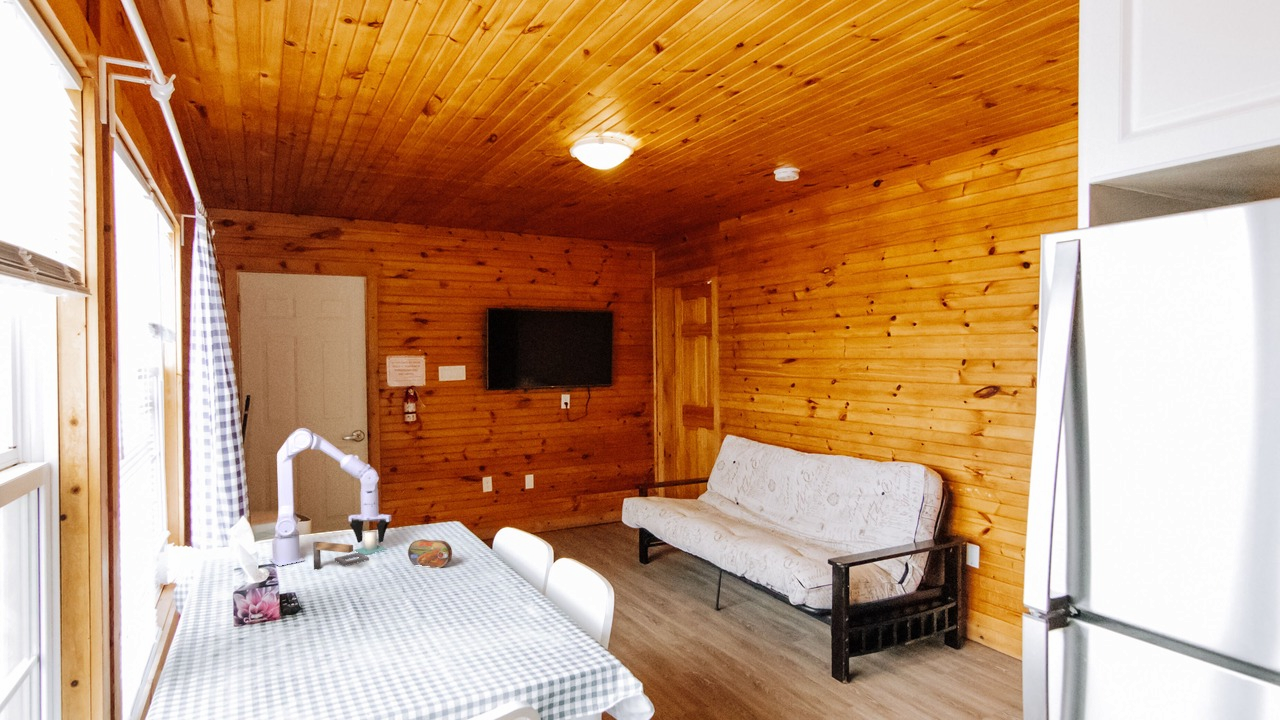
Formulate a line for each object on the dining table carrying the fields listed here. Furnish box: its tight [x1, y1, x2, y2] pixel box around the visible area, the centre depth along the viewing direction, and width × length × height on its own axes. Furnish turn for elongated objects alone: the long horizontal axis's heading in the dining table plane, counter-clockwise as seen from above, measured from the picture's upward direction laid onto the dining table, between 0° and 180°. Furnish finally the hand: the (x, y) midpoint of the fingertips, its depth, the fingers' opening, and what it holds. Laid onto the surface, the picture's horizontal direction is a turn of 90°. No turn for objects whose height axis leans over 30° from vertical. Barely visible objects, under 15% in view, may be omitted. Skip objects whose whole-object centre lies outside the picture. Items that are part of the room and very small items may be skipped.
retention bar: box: [312, 541, 354, 570], centre depth 215 cm, size 14×2×8 cm, turn 72°
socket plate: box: [334, 552, 370, 567], centre depth 225 cm, size 8×8×1 cm
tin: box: [407, 539, 453, 569], centre depth 218 cm, size 15×3×8 cm, turn 73°
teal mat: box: [353, 544, 388, 556], centre depth 235 cm, size 8×8×1 cm
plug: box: [363, 530, 378, 551], centre depth 235 cm, size 4×4×6 cm
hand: (370, 541), depth 235 cm, fingers open, 7 cm apart
